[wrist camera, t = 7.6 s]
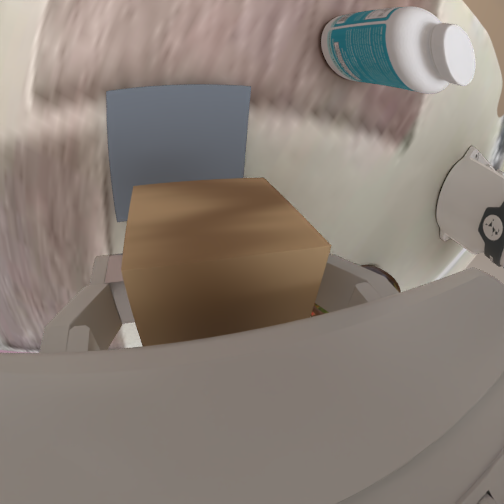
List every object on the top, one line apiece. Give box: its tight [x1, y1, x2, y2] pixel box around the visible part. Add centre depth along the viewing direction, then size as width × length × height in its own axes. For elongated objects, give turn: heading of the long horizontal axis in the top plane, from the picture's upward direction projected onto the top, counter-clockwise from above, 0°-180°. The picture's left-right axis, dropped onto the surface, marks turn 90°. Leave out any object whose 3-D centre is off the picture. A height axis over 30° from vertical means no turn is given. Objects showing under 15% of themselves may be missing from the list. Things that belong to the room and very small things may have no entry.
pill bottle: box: [321, 7, 475, 94], centre depth 16 cm, size 8×7×14 cm
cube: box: [121, 178, 331, 346], centre depth 9 cm, size 5×5×5 cm
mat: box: [106, 84, 251, 222], centre depth 22 cm, size 12×12×1 cm
